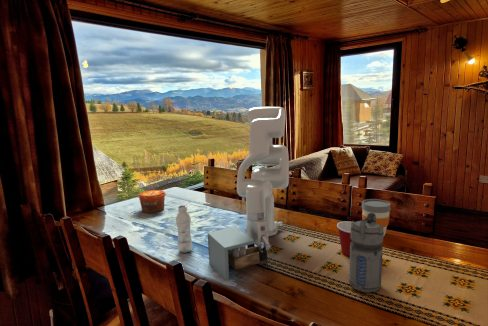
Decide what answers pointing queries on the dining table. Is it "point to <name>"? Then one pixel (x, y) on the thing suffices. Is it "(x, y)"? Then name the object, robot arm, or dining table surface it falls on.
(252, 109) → the robot arm
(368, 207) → the reusable coffee cup
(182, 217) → the plastic bottle
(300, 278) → the dining table surface
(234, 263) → the tray
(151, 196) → the food container
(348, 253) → the plastic cup
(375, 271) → the beverage bottle
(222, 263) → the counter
